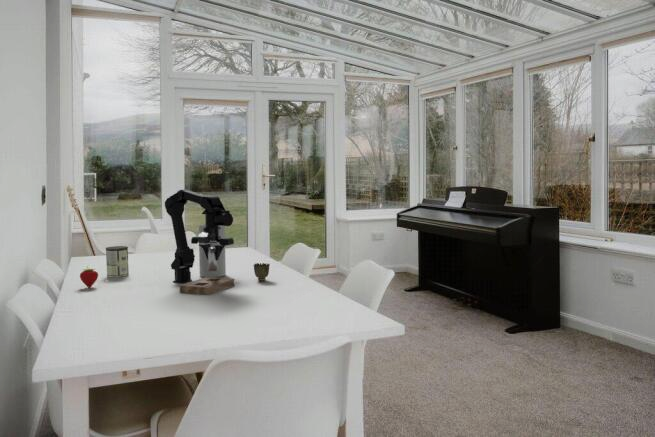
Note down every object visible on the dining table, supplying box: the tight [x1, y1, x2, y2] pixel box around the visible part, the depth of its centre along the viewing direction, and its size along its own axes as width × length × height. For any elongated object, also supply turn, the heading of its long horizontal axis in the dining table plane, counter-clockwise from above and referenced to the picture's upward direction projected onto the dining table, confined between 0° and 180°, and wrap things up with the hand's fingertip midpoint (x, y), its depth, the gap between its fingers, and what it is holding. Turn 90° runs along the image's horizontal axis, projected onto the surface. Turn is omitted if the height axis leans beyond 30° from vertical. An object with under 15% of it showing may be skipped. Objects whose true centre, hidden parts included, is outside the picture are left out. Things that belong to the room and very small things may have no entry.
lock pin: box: [208, 247, 217, 271], centre depth 242 cm, size 4×4×10 cm
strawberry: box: [79, 265, 99, 288], centre depth 241 cm, size 6×8×10 cm
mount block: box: [179, 277, 235, 296], centre depth 238 cm, size 14×21×3 cm, turn 160°
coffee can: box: [105, 245, 129, 278], centre depth 271 cm, size 10×10×14 cm
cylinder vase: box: [198, 223, 227, 278], centre depth 269 cm, size 12×12×25 cm
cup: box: [253, 262, 270, 282], centre depth 256 cm, size 8×7×8 cm
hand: (212, 260), depth 242 cm, fingers closed on lock pin, 4 cm apart
